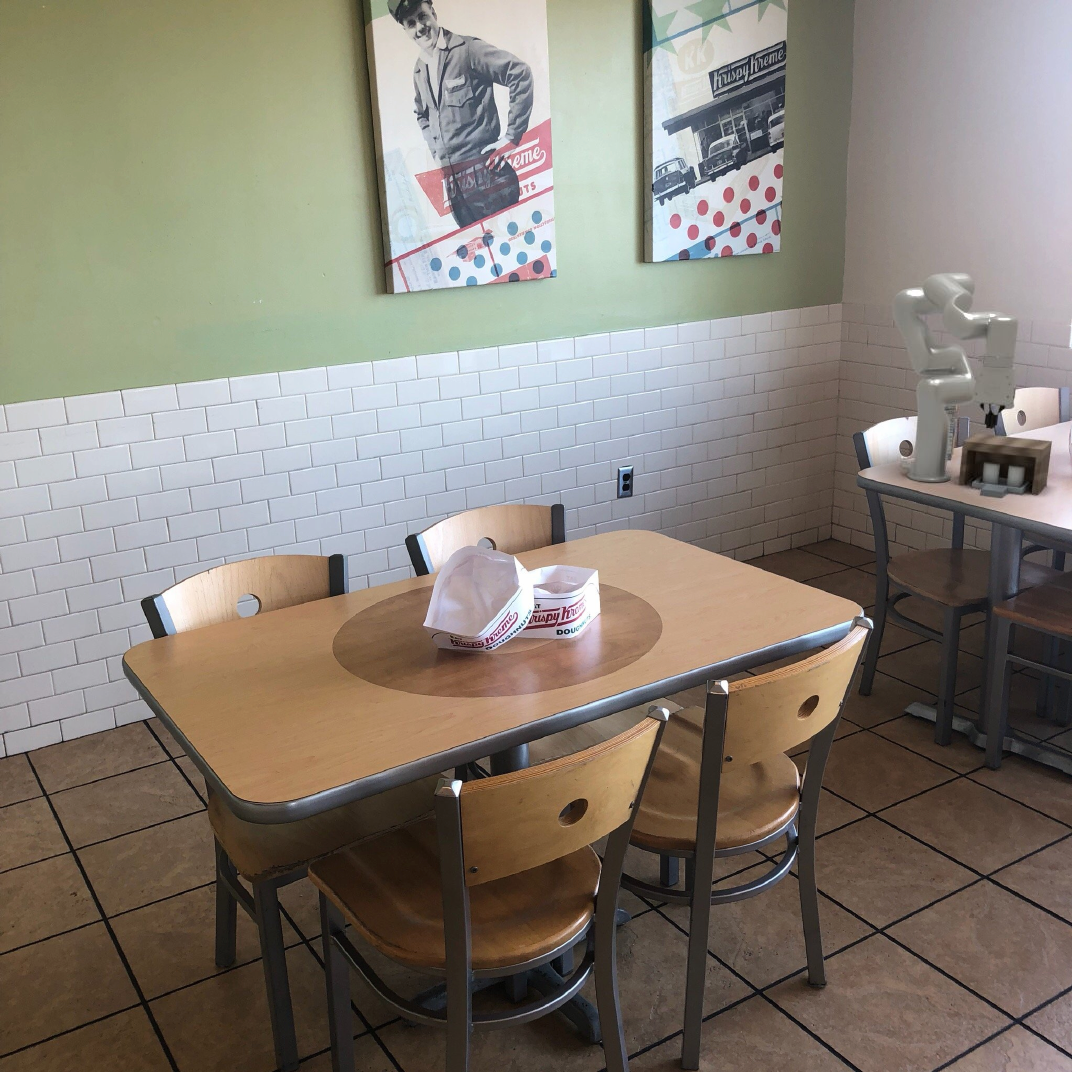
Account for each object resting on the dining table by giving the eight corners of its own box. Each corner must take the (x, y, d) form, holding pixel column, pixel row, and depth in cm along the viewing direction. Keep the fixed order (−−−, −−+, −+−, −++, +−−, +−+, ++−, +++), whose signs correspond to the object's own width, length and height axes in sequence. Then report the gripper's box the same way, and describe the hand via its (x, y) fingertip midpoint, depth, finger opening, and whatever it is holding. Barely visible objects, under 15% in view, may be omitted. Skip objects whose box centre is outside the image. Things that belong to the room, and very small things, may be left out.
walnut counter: (958, 484, 318) (962, 441, 314) (969, 476, 327) (973, 433, 323) (1037, 495, 305) (1042, 449, 301) (1046, 485, 314) (1052, 441, 310)
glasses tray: (965, 493, 309) (968, 471, 307) (980, 480, 321) (983, 459, 319) (1016, 499, 301) (1019, 477, 299) (1030, 487, 313) (1032, 465, 311)
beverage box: (928, 458, 349) (934, 392, 342) (931, 451, 358) (937, 386, 352) (950, 460, 346) (957, 393, 339) (953, 452, 356) (959, 387, 349)
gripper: (966, 361, 289) (958, 427, 295) (1024, 366, 281) (1015, 433, 287) (973, 357, 295) (966, 421, 301) (1030, 362, 287) (1022, 428, 293)
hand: (990, 427), depth 294 cm, fingers closed
